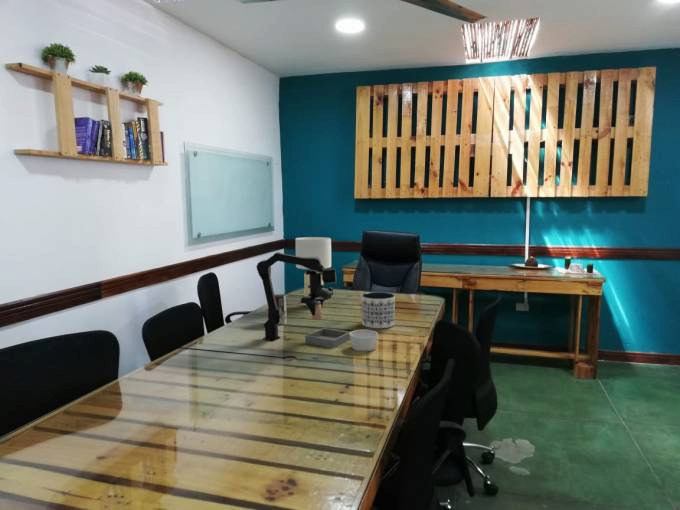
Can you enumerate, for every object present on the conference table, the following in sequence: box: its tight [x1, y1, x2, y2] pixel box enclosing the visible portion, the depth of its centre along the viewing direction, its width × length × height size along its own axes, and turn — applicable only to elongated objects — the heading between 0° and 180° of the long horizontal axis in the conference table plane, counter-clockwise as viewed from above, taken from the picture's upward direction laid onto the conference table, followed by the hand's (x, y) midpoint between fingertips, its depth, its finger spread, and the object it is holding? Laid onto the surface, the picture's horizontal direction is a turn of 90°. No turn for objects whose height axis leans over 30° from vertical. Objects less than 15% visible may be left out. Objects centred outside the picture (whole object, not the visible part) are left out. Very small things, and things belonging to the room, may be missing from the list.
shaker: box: [310, 301, 323, 321], centre depth 232 cm, size 5×5×8 cm
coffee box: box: [274, 293, 288, 325], centre depth 264 cm, size 9×6×16 cm
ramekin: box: [349, 329, 379, 352], centre depth 218 cm, size 13×13×7 cm
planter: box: [361, 291, 396, 329], centre depth 259 cm, size 18×18×16 cm
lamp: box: [295, 236, 332, 309], centre depth 303 cm, size 23×23×44 cm
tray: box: [304, 327, 351, 349], centre depth 229 cm, size 16×16×4 cm
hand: (316, 314), depth 232 cm, fingers closed on shaker, 5 cm apart
